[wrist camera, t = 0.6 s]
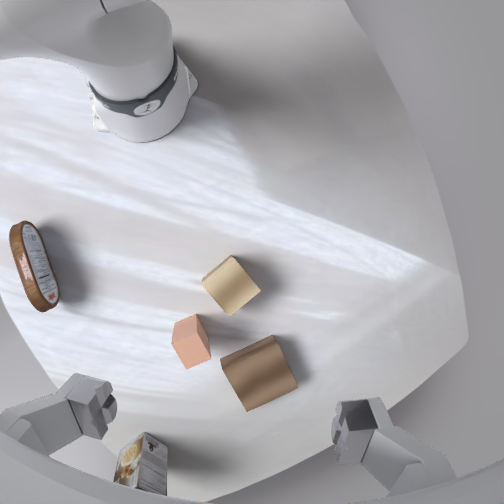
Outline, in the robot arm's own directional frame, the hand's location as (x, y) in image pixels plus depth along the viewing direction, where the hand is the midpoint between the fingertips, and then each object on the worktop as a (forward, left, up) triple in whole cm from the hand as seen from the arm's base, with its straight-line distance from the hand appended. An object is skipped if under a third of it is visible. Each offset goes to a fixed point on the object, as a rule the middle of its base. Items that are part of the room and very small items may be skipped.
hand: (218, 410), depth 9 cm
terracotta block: (+10, -6, -40) cm, 41 cm away
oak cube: (+5, +3, -40) cm, 40 cm away
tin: (-11, -25, -40) cm, 49 cm away
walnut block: (+22, +1, -40) cm, 45 cm away
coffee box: (+30, -28, -40) cm, 57 cm away
